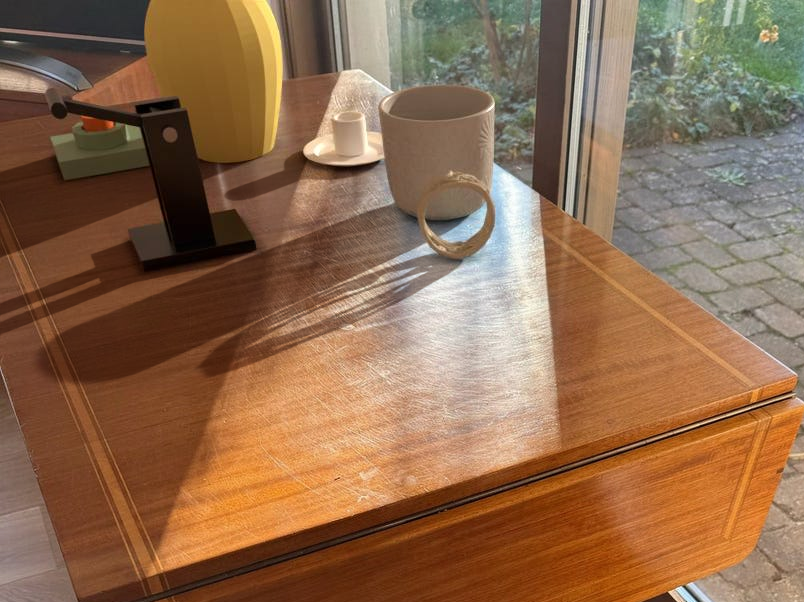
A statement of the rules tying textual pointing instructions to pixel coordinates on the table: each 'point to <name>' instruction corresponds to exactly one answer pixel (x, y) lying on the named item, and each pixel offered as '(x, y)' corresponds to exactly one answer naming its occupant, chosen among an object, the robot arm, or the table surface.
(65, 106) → the lever
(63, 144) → the control block
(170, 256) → the bracket
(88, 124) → the button
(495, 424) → the table surface
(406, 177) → the planter
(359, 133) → the candle holder
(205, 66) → the vase
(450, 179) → the bracelet
